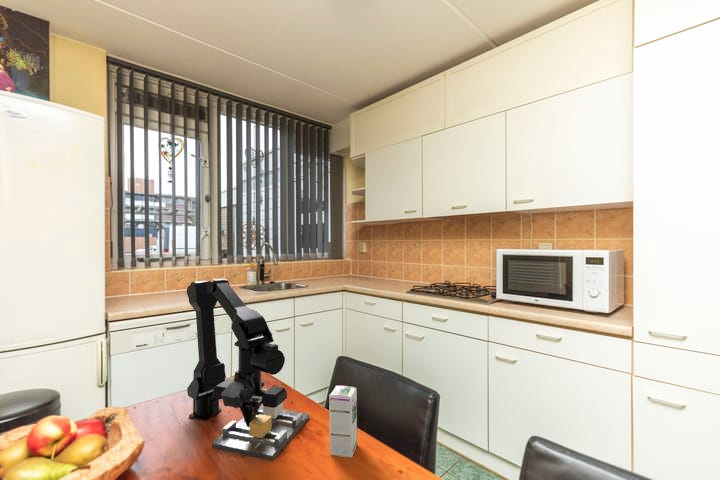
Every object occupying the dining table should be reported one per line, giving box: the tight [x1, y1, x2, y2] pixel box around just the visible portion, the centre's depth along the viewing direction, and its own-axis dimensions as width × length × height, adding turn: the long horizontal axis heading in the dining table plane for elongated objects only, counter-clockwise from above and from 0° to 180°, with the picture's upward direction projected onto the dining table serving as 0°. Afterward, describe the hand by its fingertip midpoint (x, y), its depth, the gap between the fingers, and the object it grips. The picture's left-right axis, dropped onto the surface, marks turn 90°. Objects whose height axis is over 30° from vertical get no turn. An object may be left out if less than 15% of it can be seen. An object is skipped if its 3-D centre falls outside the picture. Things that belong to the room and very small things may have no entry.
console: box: [211, 405, 310, 462], centre depth 89 cm, size 17×20×3 cm
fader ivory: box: [262, 401, 284, 419], centre depth 93 cm, size 4×4×5 cm
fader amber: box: [249, 414, 272, 438], centre depth 84 cm, size 4×4×5 cm
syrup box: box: [328, 385, 358, 458], centre depth 81 cm, size 6×6×14 cm
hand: (249, 426), depth 85 cm, fingers closed
